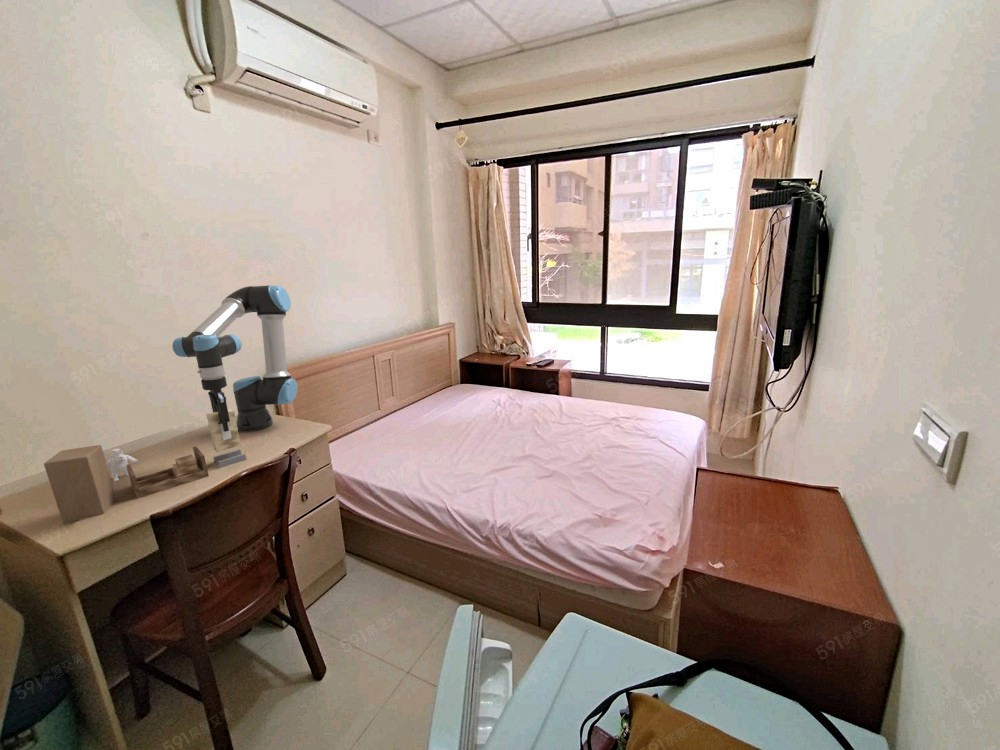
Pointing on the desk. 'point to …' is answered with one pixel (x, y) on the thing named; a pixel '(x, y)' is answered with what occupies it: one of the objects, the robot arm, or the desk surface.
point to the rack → (165, 478)
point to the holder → (229, 458)
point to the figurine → (119, 463)
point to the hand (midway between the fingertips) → (225, 437)
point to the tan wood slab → (216, 432)
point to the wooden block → (80, 483)
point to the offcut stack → (185, 466)
